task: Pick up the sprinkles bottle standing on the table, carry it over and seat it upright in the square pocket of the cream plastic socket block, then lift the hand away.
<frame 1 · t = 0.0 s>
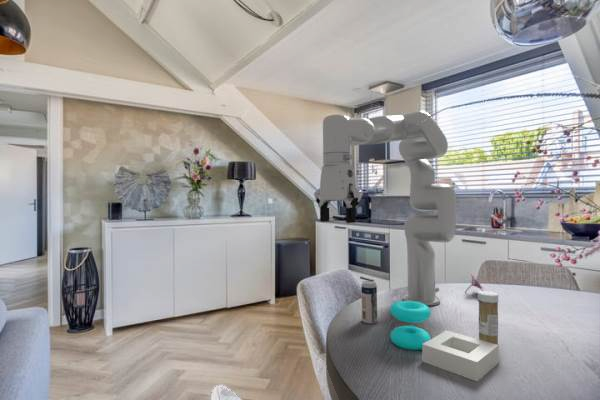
hand: (337, 221, 95), 31 cm above the table, tool pointing down, fingers open, 9 cm apart
socket block: (460, 362, 78), on the table
donuts: (410, 344, 89), on the table
sprinkles bottle: (488, 346, 87), on the table
beer can: (369, 322, 104), on the table
lily: (476, 294, 133), on the table
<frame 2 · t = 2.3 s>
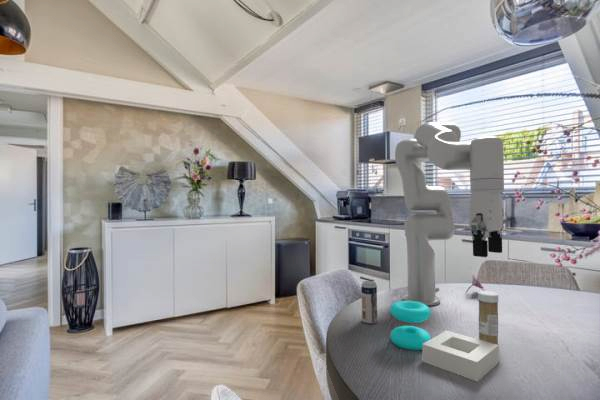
hand: (488, 254, 86), 23 cm above the table, tool pointing down, fingers open, 9 cm apart
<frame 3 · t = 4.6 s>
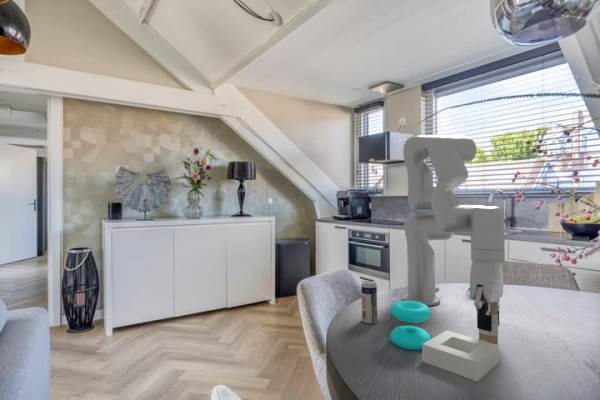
hand: (488, 326, 87), 5 cm above the table, tool pointing down, fingers closed on sprinkles bottle, 4 cm apart
sprinkles bottle: (488, 346, 87), on the table, touching gripper
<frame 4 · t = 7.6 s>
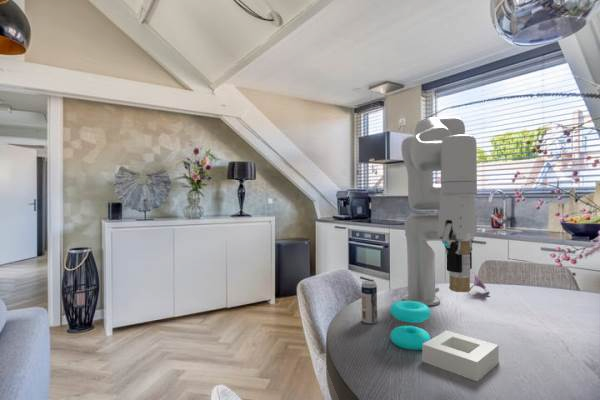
hand: (459, 269, 78), 21 cm above the table, tool pointing down, fingers closed on sprinkles bottle, 4 cm apart
sprinkles bottle: (459, 291, 78), point 16 cm above the table, touching gripper
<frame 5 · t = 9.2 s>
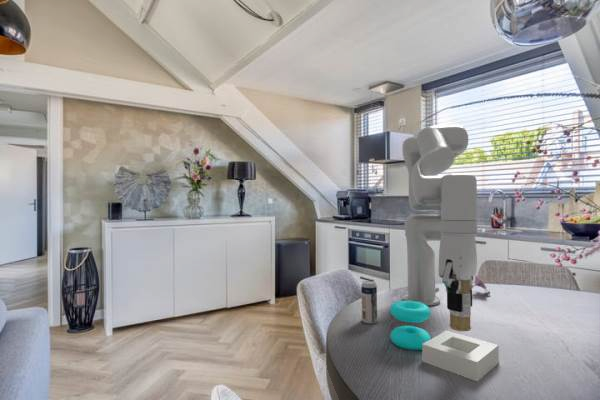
hand: (459, 307, 78), 13 cm above the table, tool pointing down, fingers closed on sprinkles bottle, 4 cm apart
sprinkles bottle: (460, 329, 78), point 7 cm above the table, touching gripper
when the fingers open (6 cm above the table, at t = 10.7 s): sprinkles bottle drops 1 cm, resting in socket block.
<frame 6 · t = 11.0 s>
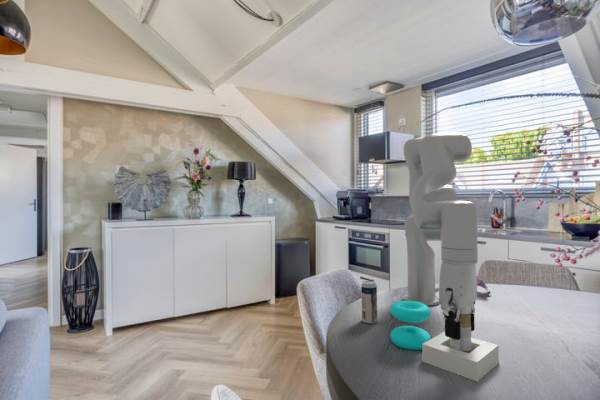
hand: (460, 332, 78), 7 cm above the table, tool pointing down, fingers open, 6 cm apart
sprinkles bottle: (460, 362, 78), resting in socket block
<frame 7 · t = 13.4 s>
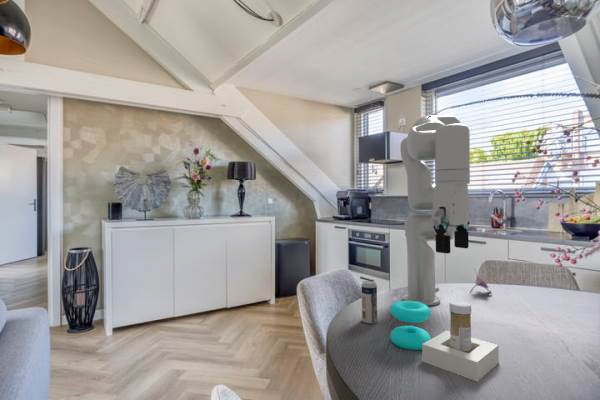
hand: (452, 250, 81), 25 cm above the table, tool pointing down, fingers open, 9 cm apart
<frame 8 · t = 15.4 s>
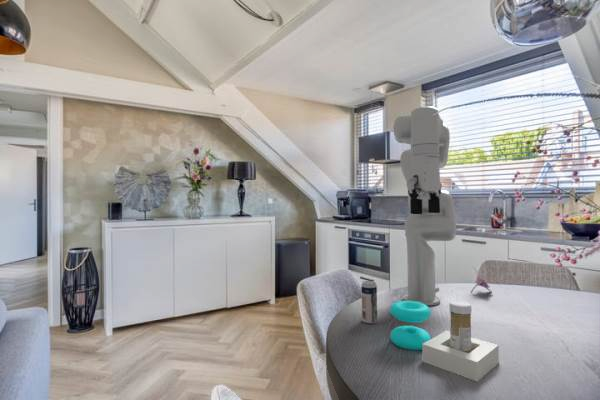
hand: (425, 213, 96), 33 cm above the table, tool pointing down, fingers open, 9 cm apart
at the end: sprinkles bottle 0.4 cm off-centre on the socket block, point 0.0 cm above the socket block's base; sprinkles bottle tilted 0°; the gripper is holding nothing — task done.
